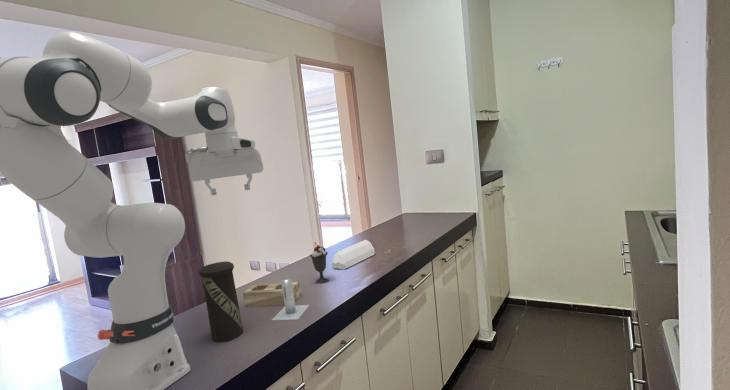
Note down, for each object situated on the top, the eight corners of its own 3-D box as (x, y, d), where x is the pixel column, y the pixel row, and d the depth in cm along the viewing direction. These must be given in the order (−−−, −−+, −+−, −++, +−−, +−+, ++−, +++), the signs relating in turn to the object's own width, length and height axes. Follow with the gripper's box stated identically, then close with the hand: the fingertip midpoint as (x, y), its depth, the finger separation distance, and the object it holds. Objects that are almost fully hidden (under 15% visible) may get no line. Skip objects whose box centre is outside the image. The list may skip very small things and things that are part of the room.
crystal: (345, 262, 149) (380, 245, 169) (332, 252, 153) (367, 237, 172) (340, 277, 152) (374, 259, 171) (327, 267, 156) (362, 251, 175)
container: (214, 347, 98) (201, 271, 96) (207, 336, 106) (195, 265, 104) (248, 336, 103) (236, 262, 101) (239, 325, 111) (228, 257, 109)
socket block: (292, 305, 121) (290, 290, 120) (245, 308, 124) (242, 292, 123) (301, 296, 129) (299, 281, 128) (256, 298, 132) (254, 284, 131)
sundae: (316, 285, 137) (310, 244, 136) (311, 281, 143) (305, 241, 142) (333, 281, 140) (328, 240, 138) (327, 276, 146) (322, 237, 144)
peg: (293, 314, 113) (288, 281, 112) (284, 314, 113) (279, 281, 112) (297, 310, 116) (292, 277, 115) (288, 310, 116) (283, 278, 115)
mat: (297, 320, 109) (297, 319, 109) (271, 321, 110) (271, 320, 110) (309, 306, 119) (309, 304, 119) (285, 307, 120) (284, 306, 120)
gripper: (183, 148, 105) (192, 198, 107) (260, 140, 113) (267, 187, 115) (184, 149, 111) (192, 197, 113) (257, 142, 119) (264, 187, 121)
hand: (231, 192), depth 114 cm, fingers open, 8 cm apart
